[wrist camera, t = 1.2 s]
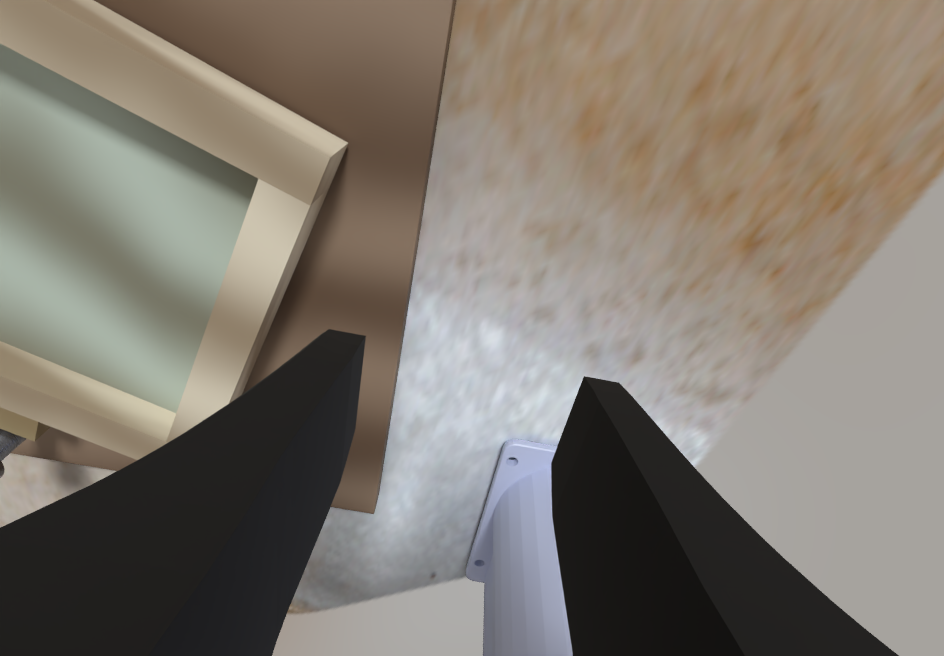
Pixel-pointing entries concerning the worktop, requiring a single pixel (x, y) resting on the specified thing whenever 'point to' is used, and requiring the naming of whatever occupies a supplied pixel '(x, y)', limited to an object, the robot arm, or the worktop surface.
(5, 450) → the knob
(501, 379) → the worktop surface
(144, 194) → the picture frame
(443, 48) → the walnut board
